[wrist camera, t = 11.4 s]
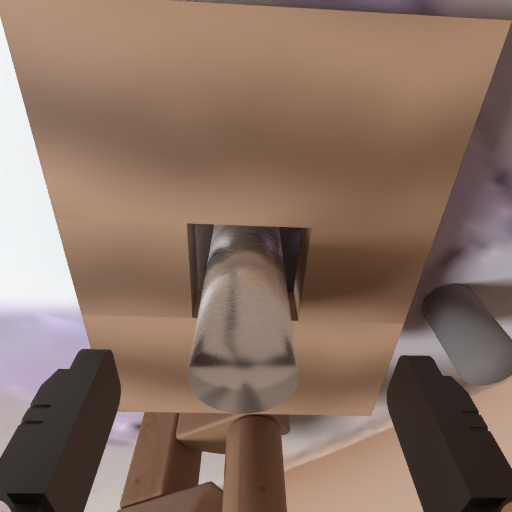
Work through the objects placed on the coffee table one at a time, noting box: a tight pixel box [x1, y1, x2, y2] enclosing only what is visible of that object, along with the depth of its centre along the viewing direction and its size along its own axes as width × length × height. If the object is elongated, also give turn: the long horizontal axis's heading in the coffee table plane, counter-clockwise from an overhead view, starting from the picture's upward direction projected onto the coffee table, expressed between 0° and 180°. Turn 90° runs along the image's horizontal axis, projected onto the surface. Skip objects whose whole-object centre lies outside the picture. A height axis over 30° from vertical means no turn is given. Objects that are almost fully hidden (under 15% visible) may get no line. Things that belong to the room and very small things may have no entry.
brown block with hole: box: [0, 0, 512, 416], centre depth 17 cm, size 18×14×6 cm
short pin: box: [422, 284, 512, 385], centre depth 21 cm, size 3×3×5 cm
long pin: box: [187, 224, 299, 414], centre depth 15 cm, size 3×3×11 cm
